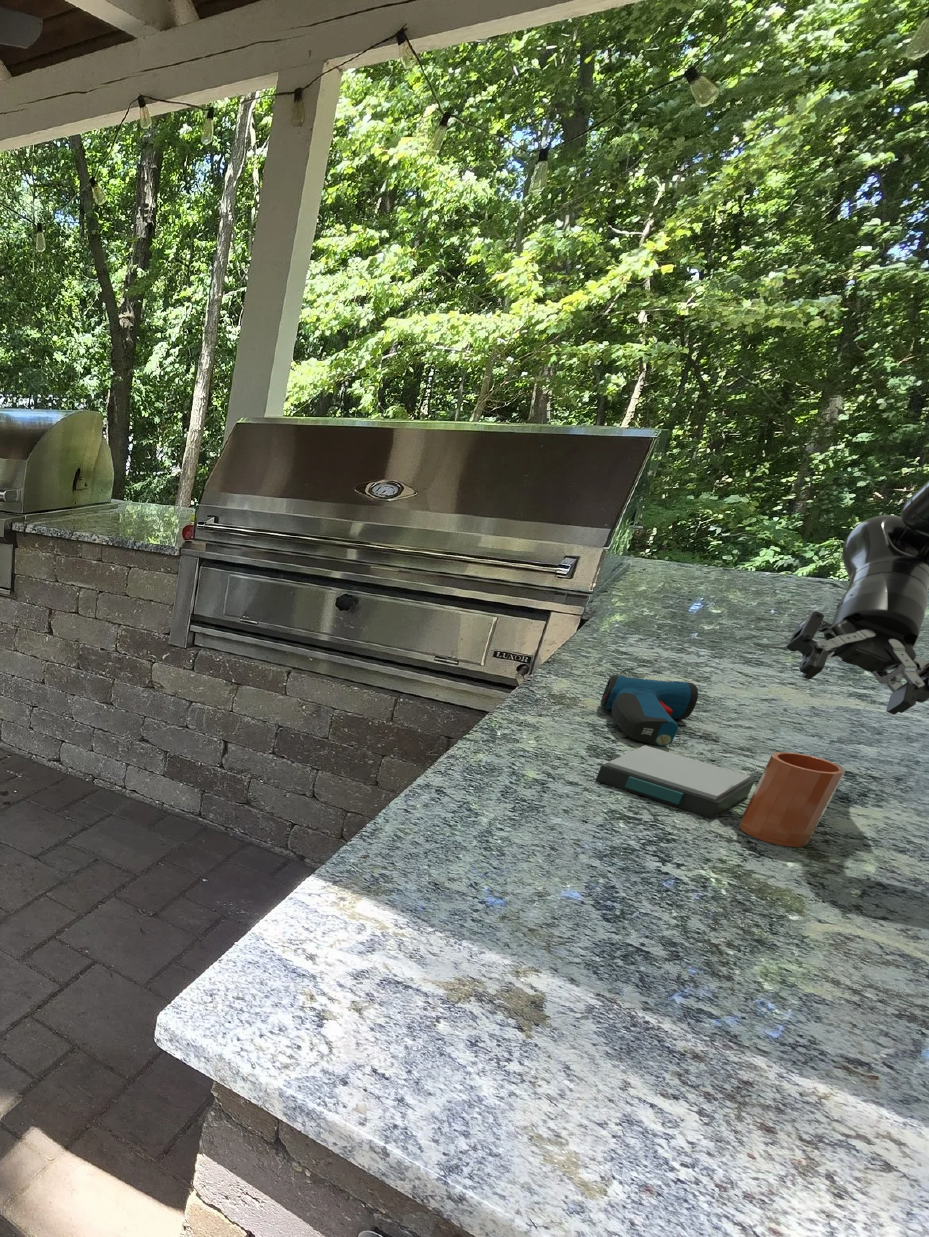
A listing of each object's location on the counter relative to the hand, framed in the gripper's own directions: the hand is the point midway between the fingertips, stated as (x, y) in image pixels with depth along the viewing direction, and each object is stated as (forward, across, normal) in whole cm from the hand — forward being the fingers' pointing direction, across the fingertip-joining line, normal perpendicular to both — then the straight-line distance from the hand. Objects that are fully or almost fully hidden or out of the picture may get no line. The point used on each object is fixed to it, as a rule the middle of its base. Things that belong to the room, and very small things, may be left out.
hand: (854, 691), depth 97 cm
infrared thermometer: (-17, -7, +33) cm, 38 cm away
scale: (+7, -6, +19) cm, 21 cm away
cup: (+14, +3, +13) cm, 19 cm away
